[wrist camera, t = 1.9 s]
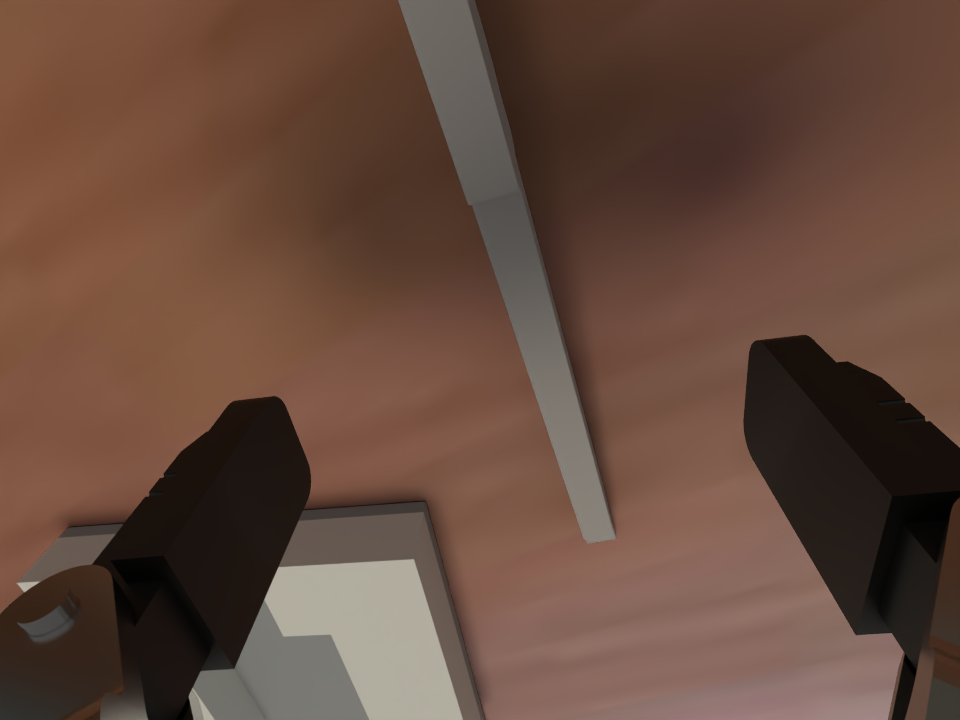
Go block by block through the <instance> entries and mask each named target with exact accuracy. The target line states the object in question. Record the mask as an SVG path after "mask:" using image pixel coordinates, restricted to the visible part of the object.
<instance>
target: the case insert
mask: <svg viewBox="0 0 960 720" xmlns="http://www.w3.org/2000/svg"><path fill="white" fill-rule="evenodd" d="M122 526H123V524H111V525H97V526H84V527H70V528H67V529H66V530H65V531H64V532H63V533H62V534H61V535H60V536H59V538H58V539H57V540H56V541H55V542H54V543H53V544H52V545H51V546H50V547H49V548H48V550H47V551H46V552H45V553H44V554H43V555H42V556H41V557H40V558H39V559H38V560H37V561H36V563H35V564H34V565H33V566H32V567H31V568H30V569H29V570H28V571H27V572H26V573H25V574H24V576H23V577H22V578H21V579H20V580H19V581H18V582H17V584H18V585H19V586H20V587H21V589H22V590H23V591H24V592H26V591H27V590H28V589H30V588H31V587H33V586H34V585H36V584H38V583H39V582H41V581H43V580H45V579H46V578H48V577H50V576H52V575H54V574H57V573H59V572H61V571H64V570H67V569H70V568H73V567H77V566H83V565H92V563H93V562H94V561H95V560H96V558H97V557H98V556H99V555H100V553H101V552H102V551H103V550H104V548H105V547H106V546H107V545H108V543H109V542H110V541H111V539H112V538H113V537H114V536H115V534H116V533H117V532H118V531H119V529H120V528H121V527H122ZM192 690H193V691H194V692H195V694H196V695H197V697H198V699H199V702H200V705H201V710H202V714H203V718H204V720H485V718H484V715H483V711H482V707H481V703H480V700H479V696H478V692H477V689H476V685H475V681H474V678H473V674H472V670H471V667H470V663H469V659H468V656H467V652H466V648H465V645H464V641H463V637H462V634H461V630H460V626H459V623H458V619H457V615H456V612H455V608H454V604H453V600H452V597H451V593H450V589H449V586H448V582H447V578H446V575H445V571H444V567H443V564H442V560H441V556H440V553H439V549H438V545H437V542H436V538H435V534H434V531H433V527H432V523H431V520H430V516H429V512H428V509H427V505H426V501H425V502H412V503H398V504H384V505H371V506H357V507H343V508H330V509H316V510H303V512H302V514H301V516H300V519H299V521H298V523H297V525H296V528H295V530H294V532H293V535H292V537H291V539H290V542H289V544H288V546H287V549H286V551H285V553H284V555H283V558H282V560H281V562H280V565H279V567H278V569H277V572H276V574H275V576H274V579H273V581H272V583H271V585H270V588H269V590H268V592H267V595H266V597H265V599H264V602H263V604H262V606H261V609H260V611H259V613H258V615H257V618H256V620H255V622H254V625H253V627H252V629H251V632H250V634H249V636H248V639H247V641H246V643H245V645H244V648H243V650H242V652H241V655H240V657H239V659H238V662H237V664H236V666H235V669H226V670H209V671H201V672H200V674H199V676H198V678H197V680H196V682H195V684H194V686H193V688H192Z"/></svg>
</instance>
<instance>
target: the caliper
mask: <svg viewBox="0 0 960 720" xmlns="http://www.w3.org/2000/svg"><path fill="white" fill-rule="evenodd" d="M398 2H399V4H400V7H401V10H402V13H403V16H404V19H405V22H406V25H407V28H408V31H409V34H410V37H411V39H412V42H413V45H414V48H415V51H416V54H417V57H418V60H419V63H420V66H421V69H422V72H423V75H424V77H425V80H426V83H427V86H428V89H429V92H430V95H431V98H432V101H433V104H434V107H435V110H436V112H437V115H438V118H439V121H440V124H441V127H442V130H443V133H444V136H445V139H446V142H447V145H448V148H449V150H450V153H451V156H452V159H453V162H454V165H455V168H456V171H457V174H458V177H459V180H460V183H461V185H462V188H463V191H464V194H465V197H466V200H467V203H468V206H469V205H472V207H473V210H474V213H475V216H476V219H477V222H478V225H479V228H480V231H481V234H482V237H483V240H484V243H485V246H486V249H487V252H488V255H489V258H490V261H491V264H492V267H493V270H494V273H495V276H496V279H497V282H498V285H499V288H500V291H501V294H502V297H503V300H504V303H505V306H506V309H507V312H508V315H509V318H510V321H511V324H512V327H513V330H514V332H515V335H516V338H517V341H518V344H519V347H520V350H521V353H522V356H523V359H524V362H525V365H526V368H527V371H528V374H529V377H530V380H531V383H532V386H533V389H534V392H535V395H536V398H537V401H538V404H539V407H540V410H541V413H542V416H543V419H544V422H545V425H546V428H547V431H548V434H549V437H550V440H551V443H552V446H553V449H554V452H555V455H556V458H557V461H558V464H559V467H560V470H561V473H562V476H563V479H564V482H565V485H566V488H567V491H568V494H569V497H570V499H571V502H572V505H573V508H574V511H575V514H576V517H577V520H578V523H579V526H580V529H581V532H582V535H583V538H584V540H587V543H594V542H600V541H606V540H612V539H616V534H615V530H614V526H613V523H612V519H611V515H610V512H609V507H608V503H607V499H606V495H605V491H604V487H603V483H602V479H601V475H600V471H599V467H598V464H597V460H596V456H595V452H594V449H593V445H592V441H591V437H590V434H589V430H588V426H587V422H586V419H585V415H584V411H583V407H582V404H581V400H580V396H579V392H578V389H577V385H576V381H575V377H574V374H573V370H572V366H571V362H570V359H569V355H568V351H567V347H566V344H565V340H564V336H563V332H562V329H561V325H560V321H559V317H558V314H557V310H556V306H555V302H554V299H553V295H552V291H551V287H550V284H549V280H548V276H547V272H546V269H545V265H544V261H543V257H542V254H541V250H540V246H539V242H538V239H537V235H536V231H535V227H534V224H533V220H532V216H531V212H530V209H529V205H528V201H527V197H526V194H525V190H524V186H523V182H522V179H521V175H520V171H519V167H518V164H517V160H516V156H515V150H514V143H513V138H512V134H511V130H510V126H509V122H508V119H507V115H506V112H505V108H504V105H503V101H502V97H501V93H500V90H499V86H498V82H497V78H496V74H495V70H494V66H493V62H492V58H491V55H490V51H489V48H488V44H487V41H486V37H485V34H484V30H483V26H482V23H481V19H480V16H479V12H478V10H477V6H476V2H475V0H398Z"/></svg>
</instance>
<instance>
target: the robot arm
mask: <svg viewBox="0 0 960 720" xmlns="http://www.w3.org/2000/svg"><path fill="white" fill-rule="evenodd" d="M744 434H745V439H746V443H747V447H748V450H749V453H750V455H751V457H752V459H753V461H754V462H755V464H756V466H757V467H758V469H759V471H760V473H761V474H762V476H763V478H764V479H765V481H766V483H767V484H768V486H769V488H770V490H771V491H772V493H773V495H774V496H775V498H776V500H777V502H778V503H779V505H780V507H781V508H782V510H783V512H784V513H785V515H786V517H787V519H788V520H789V522H790V524H791V525H792V527H793V529H794V530H795V532H796V534H797V536H798V537H799V539H800V541H801V542H802V544H803V546H804V548H805V549H806V551H807V553H808V554H809V556H810V558H811V559H812V561H813V563H814V565H815V566H816V568H817V570H818V571H819V573H820V575H821V576H822V578H823V580H824V582H825V583H826V585H827V587H828V588H829V590H830V592H831V594H832V595H833V597H834V599H835V600H836V602H837V604H838V605H839V607H840V609H841V611H842V612H843V614H844V616H845V617H846V619H847V621H848V623H849V624H850V626H851V628H852V629H853V631H854V633H855V634H856V635H865V634H882V633H892V634H893V635H894V637H895V639H896V640H897V642H898V643H899V645H900V646H901V648H902V649H903V651H904V653H903V656H902V659H901V662H900V665H899V668H898V673H897V678H896V683H895V688H894V693H893V697H892V702H891V707H890V712H889V717H888V720H960V448H959V447H958V446H957V445H956V444H955V443H954V442H952V441H951V440H950V439H949V438H948V437H947V436H946V435H945V434H944V433H942V432H941V431H940V430H939V429H938V428H937V427H936V426H935V425H934V424H932V423H931V422H930V421H928V422H926V421H925V416H924V415H922V414H921V413H920V412H919V411H918V410H917V409H916V408H915V407H914V406H913V405H911V404H910V403H905V398H904V397H903V396H901V395H900V394H899V393H898V392H897V391H896V390H895V389H894V388H893V387H891V386H890V385H889V384H888V383H887V382H886V381H885V380H884V379H883V378H881V377H879V376H877V375H875V374H873V373H871V372H869V371H867V370H864V369H862V368H860V367H858V366H856V365H854V364H852V363H850V362H848V361H847V362H838V363H836V362H835V361H834V360H833V359H832V358H831V357H830V356H829V355H828V354H827V353H826V352H825V351H824V350H823V349H822V348H821V347H820V346H819V345H818V344H817V343H816V342H815V341H814V340H813V339H812V338H810V337H809V336H807V335H799V336H791V337H782V338H774V339H765V340H757V341H755V342H753V344H752V345H751V348H750V352H749V360H748V372H747V384H746V397H745V409H744ZM310 488H311V473H310V468H309V464H308V461H307V459H306V456H305V454H304V451H303V448H302V446H301V443H300V441H299V438H298V436H297V433H296V431H295V428H294V426H293V423H292V421H291V418H290V416H289V413H288V411H287V408H286V406H285V404H284V403H283V401H282V400H281V399H280V398H278V397H276V396H272V397H263V398H255V399H246V400H238V401H233V402H232V403H230V404H229V405H228V406H227V408H226V409H225V410H224V412H223V413H222V414H221V416H220V417H219V418H218V420H217V421H216V422H215V424H214V425H213V426H212V427H211V429H210V430H209V431H208V432H206V433H204V434H203V435H202V436H201V437H199V438H198V439H197V440H195V441H194V442H193V443H192V444H190V445H189V446H188V447H186V448H185V449H184V450H183V451H181V452H180V454H179V455H178V456H177V457H176V459H175V460H174V461H173V462H172V464H171V465H170V466H169V467H168V469H167V470H166V471H165V473H164V478H160V479H159V480H158V481H157V483H156V484H155V485H154V486H153V488H152V489H151V490H150V491H149V497H145V498H144V499H143V500H142V502H141V503H140V504H139V505H138V507H137V508H136V509H135V510H134V512H133V513H132V514H131V515H130V517H129V518H128V519H127V521H126V522H125V523H124V524H123V526H122V527H121V528H120V529H119V531H118V532H117V533H116V534H115V536H114V537H113V538H112V539H111V541H110V542H109V543H108V545H107V546H106V547H105V548H104V550H103V551H102V552H101V553H100V555H99V556H98V557H97V558H96V560H95V561H94V562H93V563H92V565H83V566H77V567H73V568H70V569H67V570H64V571H61V572H59V573H57V574H54V575H52V576H50V577H48V578H46V579H45V580H43V581H41V582H39V583H38V584H36V585H34V586H33V587H31V588H30V589H28V590H27V591H26V592H24V593H23V594H21V595H20V596H19V597H18V598H16V599H15V600H14V601H13V602H12V603H11V604H9V605H8V606H7V607H6V608H5V609H4V610H3V611H2V612H1V614H0V720H204V718H203V714H202V710H201V705H200V702H199V699H198V697H197V695H196V694H195V692H194V691H193V690H192V688H193V686H194V684H195V682H196V680H197V678H198V676H199V674H200V672H201V671H209V670H226V669H235V666H236V664H237V662H238V659H239V657H240V655H241V652H242V650H243V648H244V645H245V643H246V641H247V639H248V636H249V634H250V632H251V629H252V627H253V625H254V622H255V620H256V618H257V615H258V613H259V611H260V609H261V606H262V604H263V602H264V599H265V597H266V595H267V592H268V590H269V588H270V585H271V583H272V581H273V579H274V576H275V574H276V572H277V569H278V567H279V565H280V562H281V560H282V558H283V555H284V553H285V551H286V549H287V546H288V544H289V542H290V539H291V537H292V535H293V532H294V530H295V528H296V525H297V523H298V521H299V519H300V516H301V514H302V512H303V509H304V507H305V505H306V502H307V500H308V497H309V494H310Z"/></svg>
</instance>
